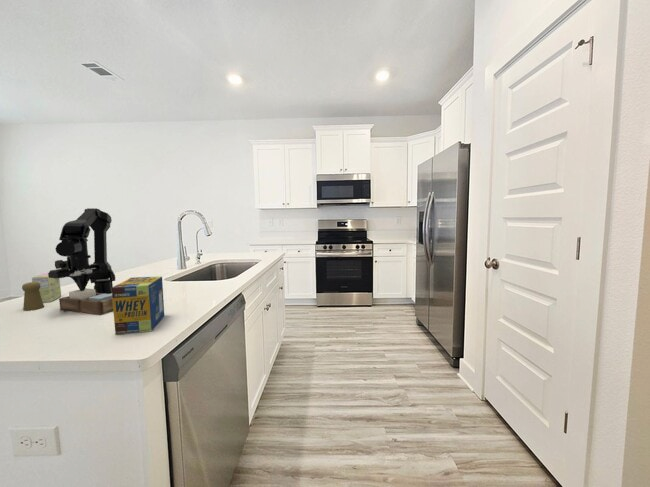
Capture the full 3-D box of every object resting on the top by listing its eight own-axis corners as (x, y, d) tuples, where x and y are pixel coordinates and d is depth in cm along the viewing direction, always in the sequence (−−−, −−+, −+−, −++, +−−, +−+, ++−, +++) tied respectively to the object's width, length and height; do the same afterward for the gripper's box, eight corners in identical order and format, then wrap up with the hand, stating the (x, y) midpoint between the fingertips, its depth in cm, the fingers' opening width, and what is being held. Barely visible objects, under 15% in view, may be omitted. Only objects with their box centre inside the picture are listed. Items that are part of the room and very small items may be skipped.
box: (45, 297, 130) (43, 273, 129) (61, 296, 132) (59, 272, 131) (34, 304, 120) (31, 277, 119) (51, 302, 123) (48, 276, 122)
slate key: (105, 302, 115) (104, 293, 115) (116, 303, 114) (115, 294, 113) (89, 307, 110) (88, 297, 109) (100, 308, 108) (99, 298, 108)
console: (87, 303, 121) (86, 291, 121) (125, 307, 115) (124, 295, 115) (60, 310, 111) (59, 298, 111) (100, 315, 106) (99, 302, 105)
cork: (30, 311, 111) (27, 284, 110) (19, 310, 112) (15, 284, 111) (48, 306, 117) (45, 281, 116) (37, 305, 118) (34, 280, 117)
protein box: (114, 335, 87) (110, 287, 86) (134, 318, 102) (130, 277, 101) (151, 331, 90) (148, 285, 89) (165, 315, 105) (162, 275, 103)
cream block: (85, 297, 118) (84, 288, 118) (96, 298, 117) (95, 289, 116) (69, 301, 112) (68, 292, 112) (80, 302, 111) (79, 293, 110)
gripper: (89, 250, 124) (92, 284, 125) (36, 255, 106) (40, 295, 107) (107, 250, 121) (110, 285, 122) (56, 256, 103) (60, 297, 104)
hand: (82, 290), depth 114 cm, fingers closed, pressing on cream block
